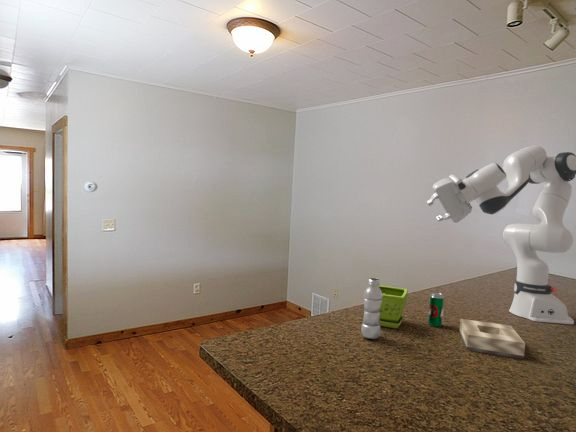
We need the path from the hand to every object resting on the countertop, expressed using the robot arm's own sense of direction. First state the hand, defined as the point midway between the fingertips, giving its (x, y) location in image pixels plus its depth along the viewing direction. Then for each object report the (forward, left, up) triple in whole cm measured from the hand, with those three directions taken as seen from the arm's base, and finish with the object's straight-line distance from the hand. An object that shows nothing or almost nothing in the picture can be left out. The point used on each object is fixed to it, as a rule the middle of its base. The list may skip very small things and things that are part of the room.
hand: (432, 211), depth 146 cm
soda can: (-3, +11, -43) cm, 44 cm away
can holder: (-19, +23, -43) cm, 52 cm away
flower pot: (+15, +17, -43) cm, 49 cm away
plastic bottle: (+19, +34, -43) cm, 58 cm away
